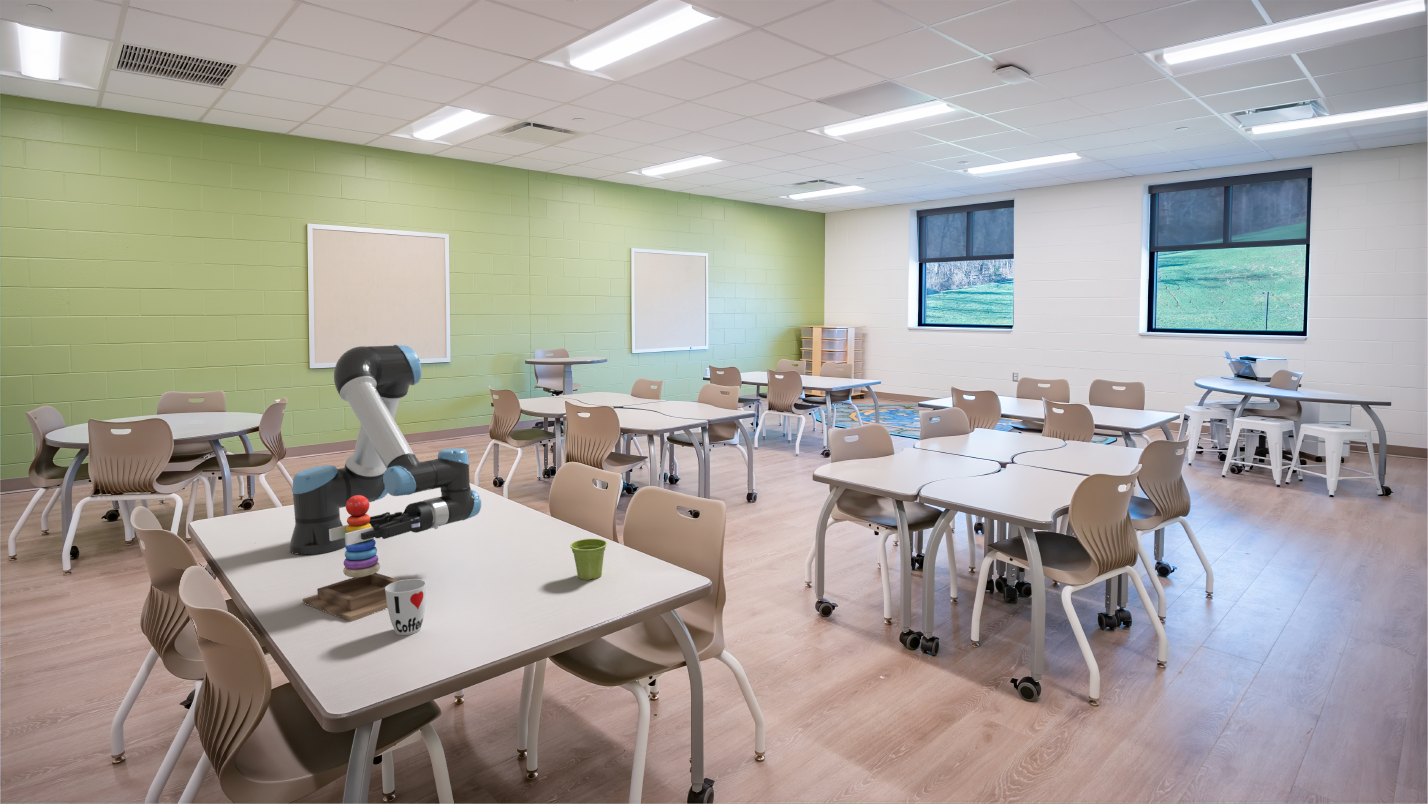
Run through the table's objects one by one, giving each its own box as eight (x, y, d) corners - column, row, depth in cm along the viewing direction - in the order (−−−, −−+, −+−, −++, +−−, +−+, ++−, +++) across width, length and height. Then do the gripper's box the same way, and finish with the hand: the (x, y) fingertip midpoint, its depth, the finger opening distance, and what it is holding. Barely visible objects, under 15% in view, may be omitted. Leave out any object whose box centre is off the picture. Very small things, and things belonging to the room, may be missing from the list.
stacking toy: (387, 569, 179) (383, 493, 177) (362, 580, 171) (357, 501, 169) (361, 565, 181) (357, 490, 179) (335, 576, 174) (330, 498, 172)
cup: (389, 641, 154) (386, 594, 153) (386, 627, 161) (383, 582, 160) (430, 633, 158) (428, 588, 157) (425, 619, 165) (423, 576, 164)
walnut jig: (303, 602, 175) (301, 588, 175) (373, 580, 190) (372, 567, 190) (350, 621, 164) (349, 606, 164) (421, 595, 179) (421, 581, 179)
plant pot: (596, 584, 186) (595, 551, 185) (564, 580, 190) (563, 547, 189) (614, 572, 195) (613, 540, 194) (582, 568, 198) (582, 537, 197)
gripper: (449, 534, 186) (362, 559, 166) (403, 524, 196) (317, 546, 177) (448, 505, 185) (360, 527, 166) (402, 496, 195) (314, 515, 176)
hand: (338, 537), depth 171 cm, fingers closed on stacking toy, 6 cm apart
